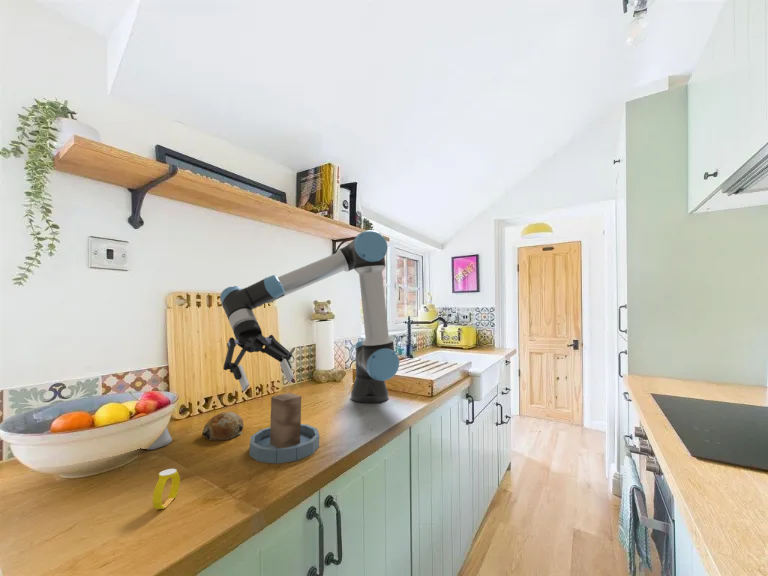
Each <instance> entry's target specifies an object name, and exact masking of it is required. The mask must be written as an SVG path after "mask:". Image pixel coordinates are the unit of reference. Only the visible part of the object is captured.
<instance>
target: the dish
mask: <svg viewBox="0 0 768 576" xmlns="http://www.w3.org/2000/svg"><path fill="white" fill-rule="evenodd" d="M249 439H250V440H249V441H250V442H249V457H250V456H251V457H250V458H252V459H254V460H255V461H257V462H258V461H259V463H267V464H284V463H291V462H296V461H300V460H302V459H304V458H307V457H309V456H312V455H313V454H314V453H315V452H316V451H317V449H319V447H320V433H319V430H318V428H317V427H314V426H312V425H309V424H308V423H307V424H305V423H301V432H300V443H299V444H296V445H293V446H290V447H286V448H277V447H275V446H274V445H272V444H270V426H268V427H265V428H263V429H259V430H258V431H257V432H255V433H254V434H253V435H251V436H250V438H249Z"/></svg>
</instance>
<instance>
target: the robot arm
mask: <svg viewBox="0 0 768 576" xmlns="http://www.w3.org/2000/svg"><path fill="white" fill-rule="evenodd" d="M387 252H388V243H387V240H386V238H385V236H383V234H381V233H380V232H379V231H376V230H371V229H369V230H364V231H362V232H360V233H359V234H357V235H356V236H355V237H354V239H353V240H351V242H349V243H348V244H346V245H345V246H344V247H341V248H339V249H337V251H336V253H333V254H331V255H328V256H326V257H324V258H321V259H319V260H316V261H314V262H311V263H309V264H307V265H305V266H302V267H299V268H297V269H295V270H292V271H290V272H288V273H285V274H282V275H280V276H277V275H276V274H272V275H270V276H267V277H265V278H262V279H261V280H259V281H256V282H255V283H253V284H251V285H248V286H247V287H243V288H242V287H240V286H236V285H234V286H227V287H226V288H225V289H224V290H222V292H220V301H221V306H222V308H223V310H224V313H225V315H226V317H227V319H228V322H229V324H230V327H231V329H232V330H231V331H232V332H233V335H234V337H233V336H232V337H230V338H229V340H228V341H227V343H226V347H227V353H226V357H225V359H224V363H223V368H222V369H223V370H224V371H228V370H229V372H230V373H231V374H233V377H234V379H235V380H236V381H239V384H240V387H241V391H242V392H246V391H247V390H248V388H249V387H250V382H249V380H248V378H247V375H246V373H245V370H244V367H243V365H242V364H240V363H241V361H242V358H243V357H244V356H245V354H246V352H247V353H251V354H252V353H254V352H255V353H259V352H261V353H262V354H267V356H269V357H272V358H273V359H275V360H276V361H278V362H280V364H279V366H280V368H281V370H282V372H283V374H284V376H285V379H286V381H287V382H288V383H290V382H291V381H292V380H293V379H294V377H295V375H294V373H293V371H292V365H291V363H290V360H291V358H292V357H293V354H292V353H291V352H290V351H289V350H288V349H287V348H286V347H285V346H283V345H282V344H281V343H280V341H277V339H276V338H275V336H274V335H273V334H269V336H266V337H265V336H264V335H263V332H262V328H261V327H260V324H259V322H258V319H257V318H256V316H255V312H254V311H253V310H254V309H257V308H258V307H261V306H262V305H265V304H271V303H273V302H275V301H277V300H278V299H280V298H283V297H285V296H288V295H289V294H292V293H294V292H297V291H299V290H302V289H304V288H306V287H308V286H311V285H313V284H315V283H318V282H320V281H323V280H325V279H328V278H329V277H332V276H334V275H336V274H339V273H341V272H343V271H344V272H346V273H347V272H350V271H352V270H354V271H355V272H356V273H358V277H359V285H360V286H359V287H360V296H361V298H360V299H361V308H362V316H363V317H362V318H363V326H364V340H358V341H357V342H356V343H355V380H354V383H353V386H352V390H351V391H350V399H351V400H352V401H354V402H357V403H364V404H376V403H381V402H386V401H387V400H388V399H389V391H388V388H387V384H386V381H389V380H390V379H391V380H392V378H393V377H395V375H396V374H397V372H398V371H399V369H400V358H399V356H398V354H397V353H396V351H395V345H394V339H392V338H391V337H390V336H389V327H388V317H387V305H386V296H385V288H384V278H383V271H384V270H385V268H386V257H385V256H386V255H387ZM237 346H239V348H241V350H240V351H239V353H238V355H237V357H236V358H235V360H234V362H233V357H234V352H235V348H236V347H237Z"/></svg>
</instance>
